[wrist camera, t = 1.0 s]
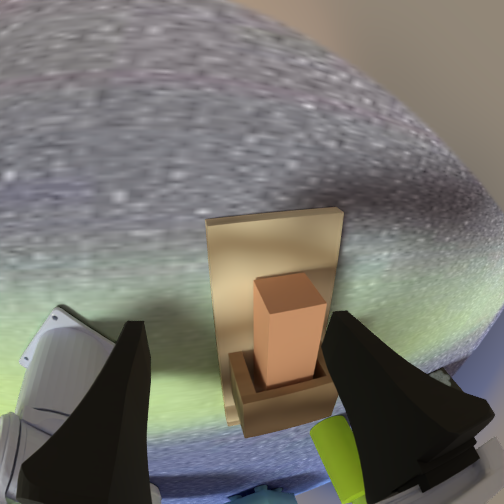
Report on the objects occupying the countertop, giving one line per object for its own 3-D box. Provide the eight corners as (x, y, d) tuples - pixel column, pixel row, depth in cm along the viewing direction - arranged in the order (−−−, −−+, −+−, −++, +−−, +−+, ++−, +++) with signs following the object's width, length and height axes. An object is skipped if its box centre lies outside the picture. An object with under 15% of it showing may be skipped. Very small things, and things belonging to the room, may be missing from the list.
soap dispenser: (318, 416, 39) (376, 533, 22) (351, 414, 42) (409, 516, 25) (297, 437, 41) (345, 547, 24) (330, 434, 44) (379, 532, 27)
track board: (305, 400, 36) (308, 407, 35) (226, 418, 33) (228, 426, 32) (336, 207, 24) (343, 212, 23) (205, 219, 21) (207, 226, 20)
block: (291, 379, 30) (305, 409, 27) (253, 387, 29) (264, 419, 26) (304, 272, 24) (327, 303, 20) (253, 280, 23) (269, 314, 20)
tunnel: (309, 375, 31) (330, 415, 26) (231, 392, 29) (244, 438, 24) (317, 335, 28) (343, 378, 23) (228, 353, 26) (243, 404, 22)
